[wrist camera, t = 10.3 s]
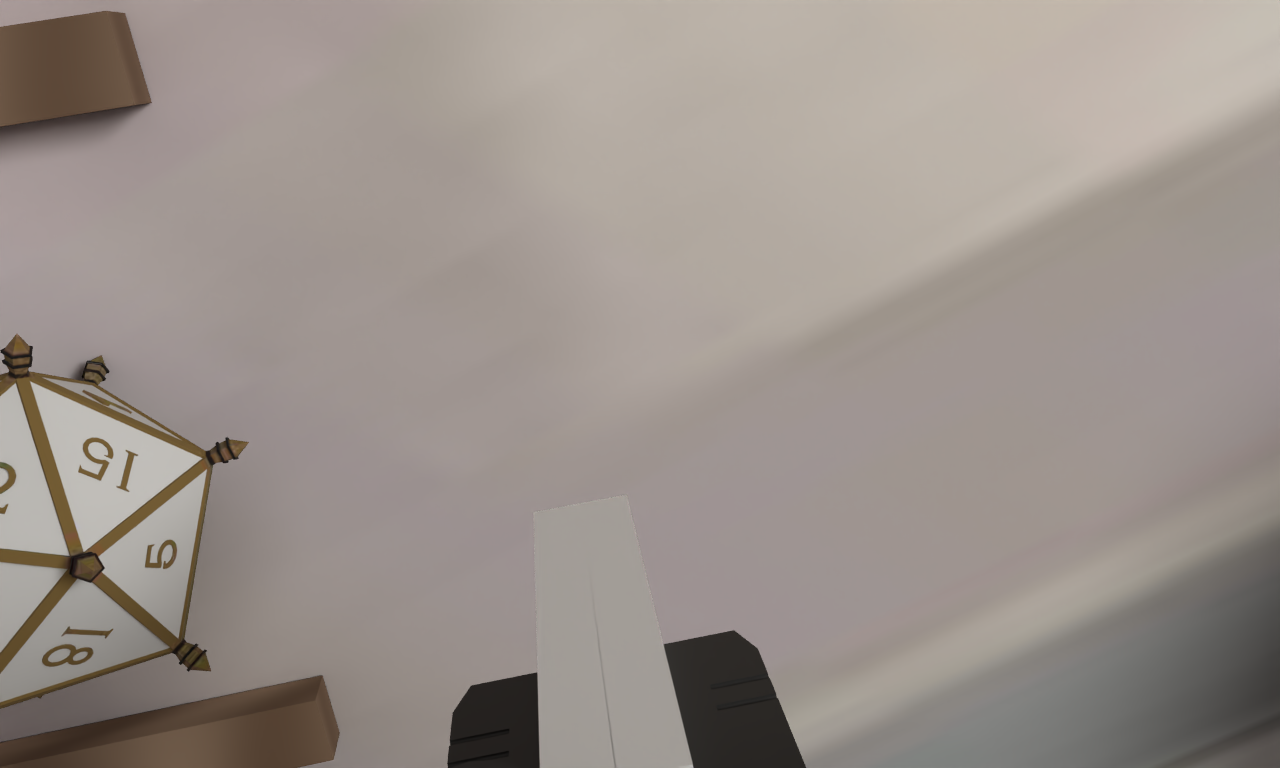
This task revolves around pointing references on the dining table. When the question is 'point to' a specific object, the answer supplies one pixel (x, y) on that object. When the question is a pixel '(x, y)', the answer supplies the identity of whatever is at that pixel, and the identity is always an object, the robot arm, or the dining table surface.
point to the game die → (92, 530)
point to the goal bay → (209, 729)
